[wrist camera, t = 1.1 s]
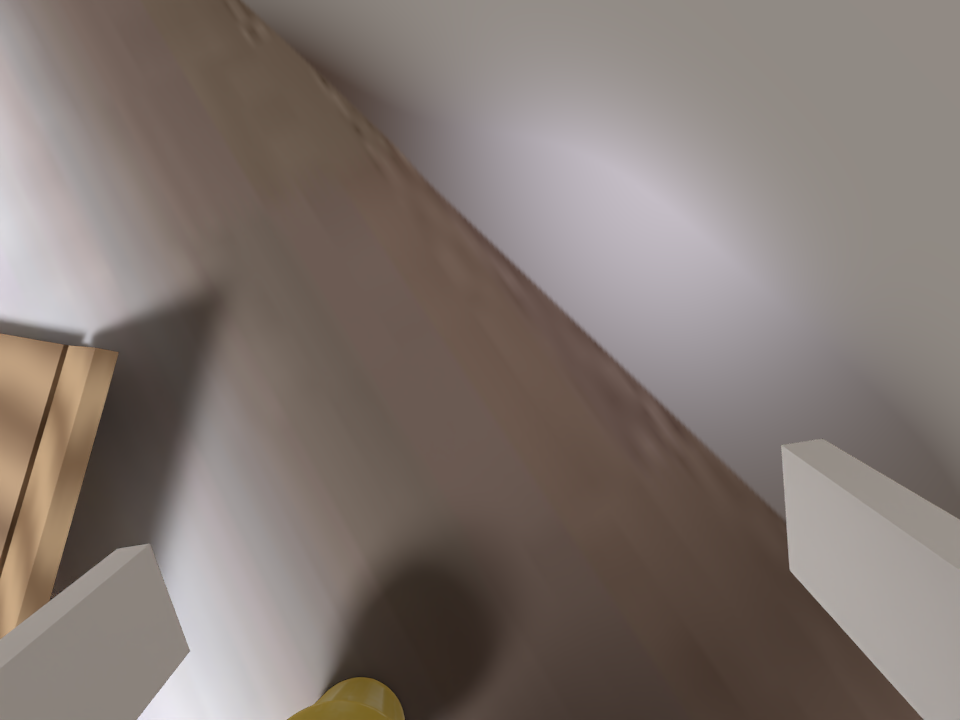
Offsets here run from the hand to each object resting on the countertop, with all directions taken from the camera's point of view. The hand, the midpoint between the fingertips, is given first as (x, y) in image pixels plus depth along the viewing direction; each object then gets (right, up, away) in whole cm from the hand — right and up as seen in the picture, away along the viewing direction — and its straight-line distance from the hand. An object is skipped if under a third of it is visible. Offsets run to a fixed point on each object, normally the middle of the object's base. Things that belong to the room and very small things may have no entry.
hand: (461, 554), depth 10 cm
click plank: (-28, -8, +22) cm, 36 cm away
